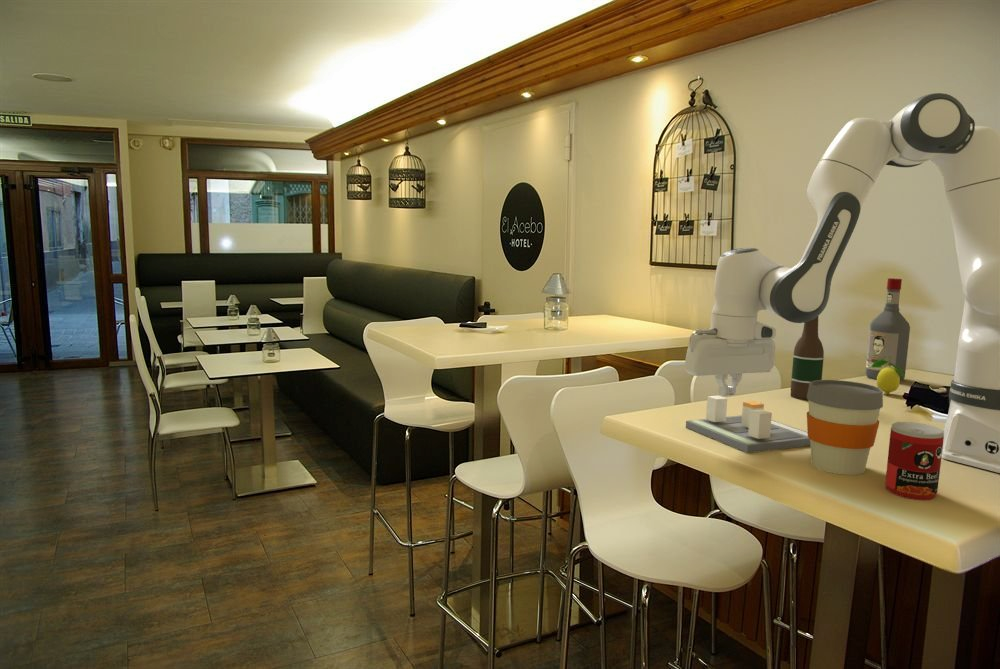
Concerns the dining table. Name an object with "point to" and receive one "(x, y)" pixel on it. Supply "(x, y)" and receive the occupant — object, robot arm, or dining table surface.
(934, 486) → the canned food
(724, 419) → the block
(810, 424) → the reusable coffee cup
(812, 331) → the beer bottle
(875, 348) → the liquor
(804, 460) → the dining table surface
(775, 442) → the panel
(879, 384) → the lemon
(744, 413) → the block
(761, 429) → the block
